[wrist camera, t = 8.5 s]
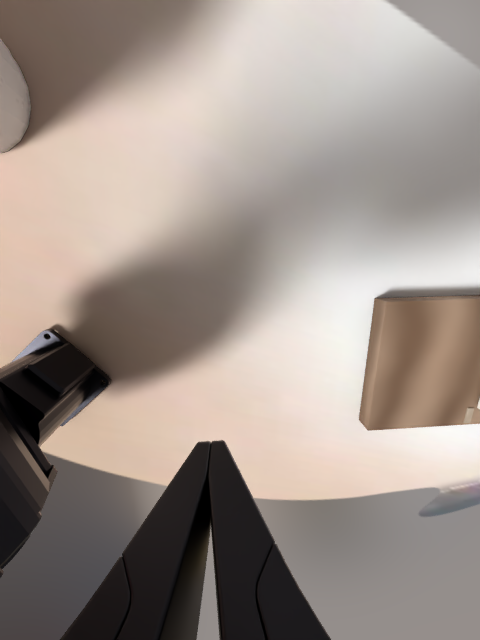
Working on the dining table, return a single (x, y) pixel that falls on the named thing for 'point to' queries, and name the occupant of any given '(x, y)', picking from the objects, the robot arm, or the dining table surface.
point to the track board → (422, 363)
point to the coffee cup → (12, 101)
